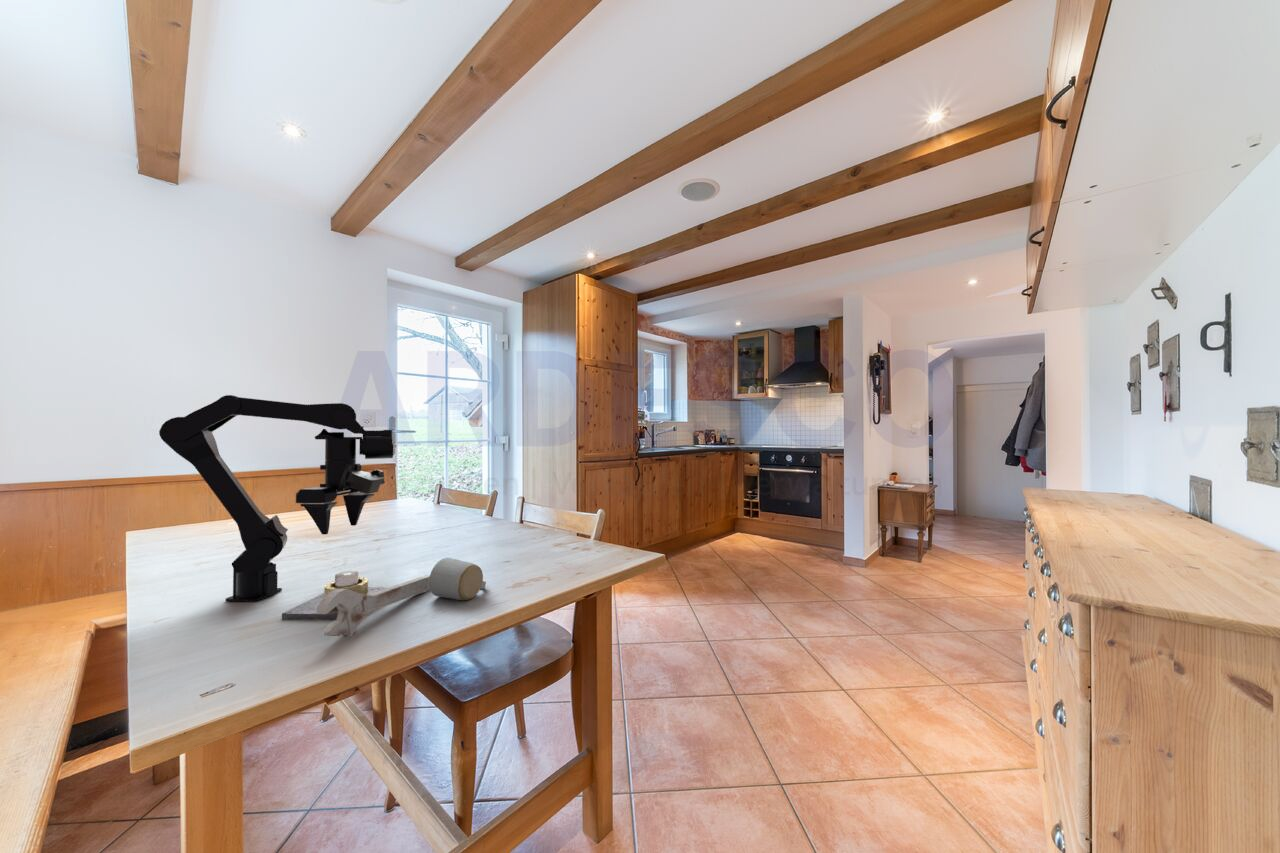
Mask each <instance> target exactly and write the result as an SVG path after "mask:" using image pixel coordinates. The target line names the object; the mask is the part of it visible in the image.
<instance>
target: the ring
mask: <svg viewBox="0 0 1280 853" xmlns="http://www.w3.org/2000/svg"><path fill="white" fill-rule="evenodd" d="M368 587H369V578H366V577H364V576H363V577H362V576H361V577H359V576H358V584H357V585H353V586H350V587H342V588H335V580H333V581H331V582H328V583H326V584H325V586H324V589H323V590H324V592H323V593H324V597H325V596H326V595H327V594H328V593H329V592H331V591H333V590H335V589H349V590H351V591H354V592H357V593H360V594H364V595H366V594H368Z"/></svg>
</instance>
